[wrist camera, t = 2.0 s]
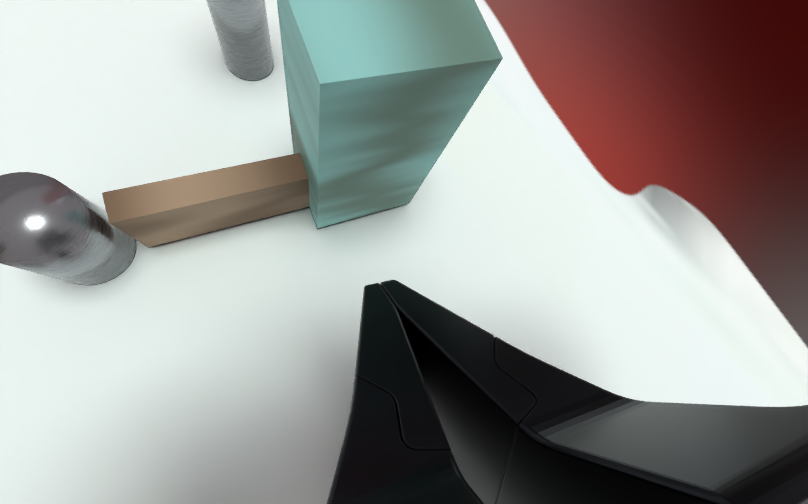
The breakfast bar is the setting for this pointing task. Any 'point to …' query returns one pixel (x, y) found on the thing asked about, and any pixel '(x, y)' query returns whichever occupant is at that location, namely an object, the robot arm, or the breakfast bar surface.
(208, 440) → the breakfast bar surface
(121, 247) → the hinge post
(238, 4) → the post
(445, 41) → the gate
